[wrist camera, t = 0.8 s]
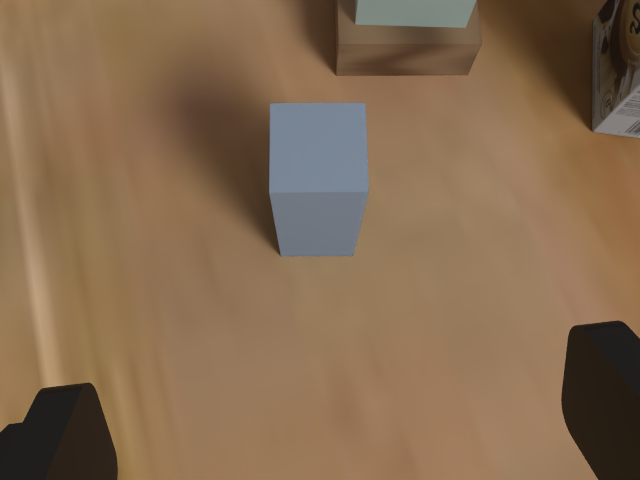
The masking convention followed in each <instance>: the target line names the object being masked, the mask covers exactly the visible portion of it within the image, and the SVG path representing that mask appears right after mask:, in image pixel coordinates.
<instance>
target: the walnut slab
mask: <svg viewBox="0 0 640 480" xmlns="http://www.w3.org/2000/svg"><path fill="white" fill-rule="evenodd" d="M335 37H336V76H402V75H468V73H469V71H470V69H471V66H472V64H473V62H474V60H475V58H476V55H477V53H478V51H479V49H480V47H481V44H482V41H481V31H480V21H479V11H478V1H477V0H476V3H475V5H474V8H473V10H472V13H471V15H470V18H469V20H468V23H467V26H466V28H455V27H421V26H387V25H355V0H335Z"/></svg>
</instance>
